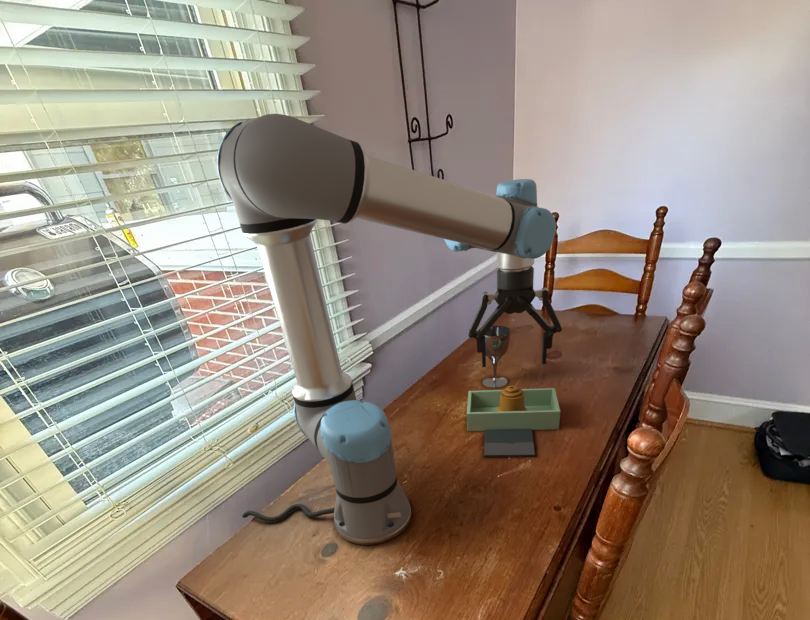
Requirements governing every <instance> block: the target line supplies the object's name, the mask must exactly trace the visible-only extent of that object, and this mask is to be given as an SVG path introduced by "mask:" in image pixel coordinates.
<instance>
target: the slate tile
mask: <svg viewBox="0 0 810 620" xmlns="http://www.w3.org/2000/svg"><path fill="white" fill-rule="evenodd" d="M483 453H484V458H536V451H535V443H534V436H533V430H532V429H494V430H485V431H484V452H483Z"/></svg>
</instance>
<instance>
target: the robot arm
mask: <svg viewBox="0 0 810 620" xmlns="http://www.w3.org/2000/svg"><path fill="white" fill-rule="evenodd" d="M366 153H367V152H366V150H365V148H364V147H363V145H362V144H361V143H360V142H357V141H355V140H352V139H348V138H346V137H343V136H341V135H339V134H336V133H333V132H331V131H328V130H326V129H324V128H321V127H319V126H317V125H313V124H311V123H309V122H306V121H305V120H302V119H299V118H297V117H294V116H291V115H288V114H287V115H286V114H281V113H267V114H263V115H260V116H258V117H255V118H248V119H245V120H242V121H239V122H237V123H236V124H234V125H232V126H231V128H230V129H229V130H228V131H227V132H226V133H225V134H224V136H223V138H222V140H221V142H220V144H219V147H218V151H217V156H216V170H217V174H218V178H219V181H220V185H221V186H222V188H223V190H224V192H225V194H226V195H227V196H228V199H230V200H231V201H232V204H233V206H234V210H235V214H236V216H237V219H238V223H239V225H240V226H239V227H240V230H241V232H242V235H243V236H244V237H246V238H247V239H249V240H251V242H253V243H254V244H255V245H256V248H257V251H258V254H259V258H260V262H261V264H262V268H263V272H264V275H265V278H266V281H267V285H268V287H269V292H270V294H271V299H272V302H273V305H274V309H275V312H276V315H277V319H278V322H279V326H280V328H281V332H282V335H283V339H284V342H285V345H286V349H287V352H288V355H289V359H290V363H291V367H292V369H293V373H294V376H295V380H296V382H295V383H294V385H293V387H292V388H291V395H292V398H293V401H294V403H293V417H294V419H295V422H296V425H297V427H298V429H299V430H300V432H301V433H302V434H303V435H304V436H305V437H306V438H307V439H308V440H309V441H310V442H311V444H312V445H313V446H314V448H316V450H317V451H318V452H319V453H320V454H321V456H322V457H323V459H325V461H326V462H327V464H328V466H329V468H330V471H331V475H332V480H333V484H334V487H335V491H336V497H335V503H334V507H329V508H326V509H320V510H317V511H313V512H311V511H310V510H308V507H307V506H306V505H305V504H302V503H295V504H292V505H291V506H289V507H287V508H286V509H285V510H284V511H283V512H281V513H280V514H277V515H275V516H266V515H264V514H261V513H260V512H258V511H255V510H251V509H250V510H247V511H245V512H244V513H243V514H242V516H241V517H242V518H243V519H245V518H248V517H249V516H252V517H255V518H257V519H259V520H261V521H264V522H268V523H273V522H279V521H281V520H283V519H284V518H285V517H287V516H288V515H289V514H290V513H291V512H293V511H294V510H298V509H299V510H301V511H302V512H303V513H304V515H305V516H306V517H308V518H317V517H320V516H325V515H330V514H333V523H334V527H335V531H336V533H338V535H339V537H341V538H342V539H343V540H345V541H347V542H350V543H351V544H355V545H360V546H361V545H363V546H370V545H379V544H382V543H386V542H388V541H391V540H393V539H394V538H396V537H398V536H399V535H401V534H402V533H403V532H404V531H405V530H406V529H407V528H408V526H409V524H410V522H411V520H412V508H411V503H410V501H409V498H408V497H407V495H406V493H405V492H404V489H403V488H402V487H401V485H400V483H399V481H398V475H397V469H396V462H395V455H394V447H393V442H392V441H393V440H392V431H391V426H390V424H389V420H388V417H387V415H386V413H385V411H384V410H383V409H382V408H381V407H380V406H379V405H377V404H375V403H373V402H370V401H364V402H363V401H362V399H361V400H360V399H357V395H356V392H355V387H354V382H353V378H352V376H351V375H350V374H348V373H347V372H345V371H343V370H342V366H341V361H340V358H339V353H338V348H337V344H336V340H335V336H334V331H333V327H332V323H331V319H330V314H329V311H328V305H327V302H326V297H325V292H324V287H323V284H322V280H321V279H322V278H321V275H320V271H319V266H318V262H317V258H316V253H315V249H314V245H313V240H312V235H311V233H312V230H313V229H314V227H315V225H316V224H317V222H318V220H319V221H330V222H335V223H339V224H344V225H349V224H351V223H352V222H353V221H354V220H355V219H358V220H362V221H367V222H371V223H375V224H379V225H384V226H388V227H392V228H396V229H400V230H404V231H410V232H414V233H416V234H417V233H418V234H422V235H427V236H431V237H435V238H438V239H442V240H444V242H445V245H446V246H447V248H448V249H449V250H451V252H452V251H453V252H456V253H458V252H463V251H464V252H467V251H468V250H471V249H478V250H483V251H489V252H494V253H496V267H497V268H498V269H497V271H496V292H495V293H488V291H484V292H482V298H481V304H480V306H479V308H478V310H477V312H476V315H475V317H474V319H473V321H472V323H471V325H470V327H469V329H468V337H469V338H470V339H472V338H473V339H475V340H476V352H477V353H478V354H479V353H481V357H482V358H481V360H482V361H481V363H482V365H481V367H482V368H486V367H487V356H486V346H485V336H484V335H485V334H486V333H487V331H488V330H489V329H490V328H491V327H492V326H494V325H495V323H496V322H497V320H498V319H500V317H502V315H504V313H505V314H507V315H513V314H523V312H526V313H527V314H528V315H529V316H531V318H532V319H533V320H534V321H535V322H536V323H537V324H538V326H539V327H540V328H541V329H542V330H543V332H542V343H541V364H542V365H547V356H548V355H547V354H548V352H547V351H548V350H550V349H552V347H553V338H554V334H557V333H561V332H563V331H562V330H563V327H562V325H561V323H560V320H559V318H558V316H557V314H556V312H555V309H554V307H553V305H552V303H551V301H550V296H549V294H550V293H549V289H548V288H547V287H546V286H543V287H542V288H541V289H537V290H535V289H534V280H535V279H534V278H535V277H534V275H535V268H534V267H533V266H534V265H535V259H539V258H541V257H543V256H544V255H545V254H546V253H547V252H548V251H549V250H550V248H551V247H552V245H553V243H554V239H555V235H556V233H557V232H556V231H557V224H556V219H555V217H554V215H553V213H552V212H551V211H550V210H549V209H548V208H545V207H539V206H538V190H537V189H538V188H537V183H536V182H535V180H534V179H530V178H519V179H511V180H505V181H503V182H499V183H498V184H497V187H496V193H495V195H492V194H490V193H486V192H484V191H480V190H477V189H475V188H471V187H467V186H465V185H462V184H458V183H455V182H452V181H449V180H446V179H442V178H440V177H437V176H434V175H430V174H428V173H423V172H421V171H418V170H415V169H411V168H409V167H405V166H402V165H399V164H395V163H392V162H390V161H387V160H384V159H380V158H377V157H374V156H370V155H368V154H366ZM535 298H538V301H541V302H542V303H543V307H544V308H545V310H546V312H547V314H548V316H549V319H550V321H551V323H552V325H550V323H549V322H548V321H546V319H545V318H544V317H543V316H542V314H540V312H539V311H538V310H537V309H536V307H534V305H533V304H532V302H533V300H534V299H535ZM493 301H494V302H496V304H497V306H496V308H495V309H494V310H493V312H492V313H491V315H490V316H488V318H487V320H485V322H484V323H483V325H482V326H481V327H480V328H479V326H480V324H481V321H482V320H483V317H484V315H485V313H486V311H487V309H488V306H489V305H491V304H492V303H493ZM478 328H479V329H478Z"/></svg>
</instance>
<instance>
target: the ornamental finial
mask: <svg viewBox="0 0 810 620" xmlns="http://www.w3.org/2000/svg"><path fill="white" fill-rule="evenodd" d="M521 389H522V388H520V387H518V386H517V385H514V384H513V385H508V386H506V387H504V389H501V390H502V391H501V393H500V406H499V407H498V408H497V411H496V412H500V411H527V409H526V407H525V406H524V392H523V391H522V390H521Z"/></svg>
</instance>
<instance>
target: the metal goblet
mask: <svg viewBox="0 0 810 620" xmlns="http://www.w3.org/2000/svg"><path fill="white" fill-rule="evenodd" d="M484 336H485V346H486V358H488V359H489V361H490V362H491V365H492V370H493V375H492V376H489V377H486V378H485V379H483V380H482V385H483V386H485V387H487V388H492V389H495V388H502V387H505V386H506V385H507V384H508V382H509V381H508V379H507V378H505V377H503V376H497V369H498V364H499V361H500V360H501V359H502V357H504V355H505V354H506V353H507V352H508V349H509V346H510V340H511V328H510V327H507V326H505V325H492V327H491V328H490V329H489V330H488V331H487V333H486V334H485V335H484Z"/></svg>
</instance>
